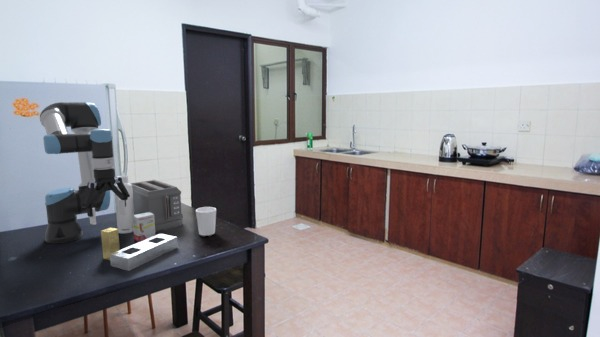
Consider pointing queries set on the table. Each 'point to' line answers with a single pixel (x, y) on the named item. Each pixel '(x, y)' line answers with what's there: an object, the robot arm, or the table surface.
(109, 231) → the gold square peg
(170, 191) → the toaster
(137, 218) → the ink box
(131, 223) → the bottle
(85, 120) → the robot arm
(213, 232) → the cup
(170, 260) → the table surface
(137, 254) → the white peg board
